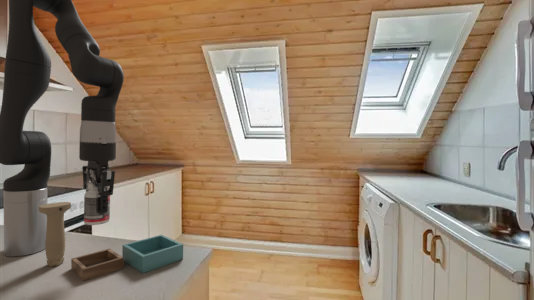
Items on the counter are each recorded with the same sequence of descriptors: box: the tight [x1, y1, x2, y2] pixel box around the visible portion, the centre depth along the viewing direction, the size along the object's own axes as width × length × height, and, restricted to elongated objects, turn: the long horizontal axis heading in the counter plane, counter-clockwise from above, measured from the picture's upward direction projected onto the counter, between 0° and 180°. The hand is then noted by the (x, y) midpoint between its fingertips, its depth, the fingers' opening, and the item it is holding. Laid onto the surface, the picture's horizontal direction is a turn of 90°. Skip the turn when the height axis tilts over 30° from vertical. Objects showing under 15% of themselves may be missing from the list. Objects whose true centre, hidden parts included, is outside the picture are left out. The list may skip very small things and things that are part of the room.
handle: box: [39, 201, 72, 267], centre depth 70 cm, size 5×6×15 cm
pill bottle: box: [83, 182, 111, 226], centre depth 68 cm, size 5×5×10 cm
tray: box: [121, 234, 184, 274], centre depth 74 cm, size 11×11×4 cm
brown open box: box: [70, 248, 125, 282], centre depth 68 cm, size 9×9×2 cm
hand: (97, 210), depth 68 cm, fingers closed on pill bottle, 5 cm apart
